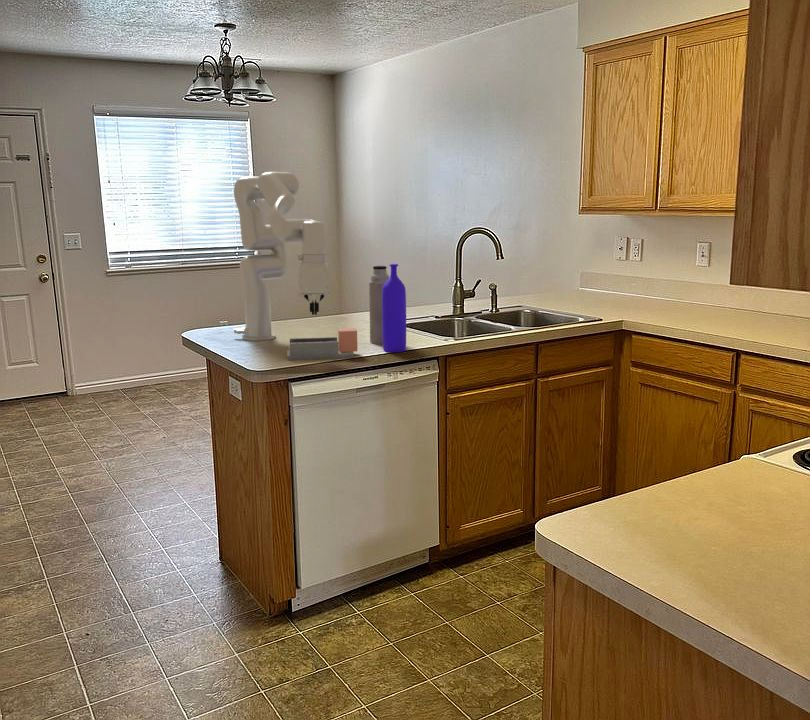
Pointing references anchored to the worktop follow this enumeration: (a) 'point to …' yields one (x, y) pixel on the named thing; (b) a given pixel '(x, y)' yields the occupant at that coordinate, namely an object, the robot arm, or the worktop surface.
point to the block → (347, 339)
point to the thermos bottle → (376, 303)
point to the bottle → (394, 313)
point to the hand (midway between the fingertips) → (314, 313)
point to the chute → (315, 349)
